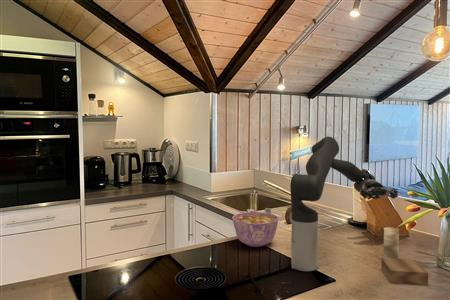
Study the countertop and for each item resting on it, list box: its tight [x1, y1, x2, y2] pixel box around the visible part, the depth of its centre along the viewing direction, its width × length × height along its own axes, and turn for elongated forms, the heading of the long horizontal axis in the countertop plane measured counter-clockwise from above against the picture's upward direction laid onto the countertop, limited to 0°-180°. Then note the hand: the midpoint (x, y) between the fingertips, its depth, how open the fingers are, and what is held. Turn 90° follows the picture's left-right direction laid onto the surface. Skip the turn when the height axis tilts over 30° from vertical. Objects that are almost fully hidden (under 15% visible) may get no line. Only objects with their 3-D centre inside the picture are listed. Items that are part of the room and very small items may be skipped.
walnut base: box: [381, 257, 429, 286], centre depth 116 cm, size 11×11×4 cm
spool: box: [382, 226, 400, 259], centre depth 129 cm, size 5×5×12 cm
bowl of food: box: [231, 211, 280, 248], centre depth 150 cm, size 20×20×12 cm
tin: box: [284, 206, 292, 224], centre depth 184 cm, size 15×3×8 cm, turn 141°
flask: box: [264, 207, 272, 214], centre depth 172 cm, size 7×7×10 cm
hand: (382, 195), depth 140 cm, fingers open, 8 cm apart
